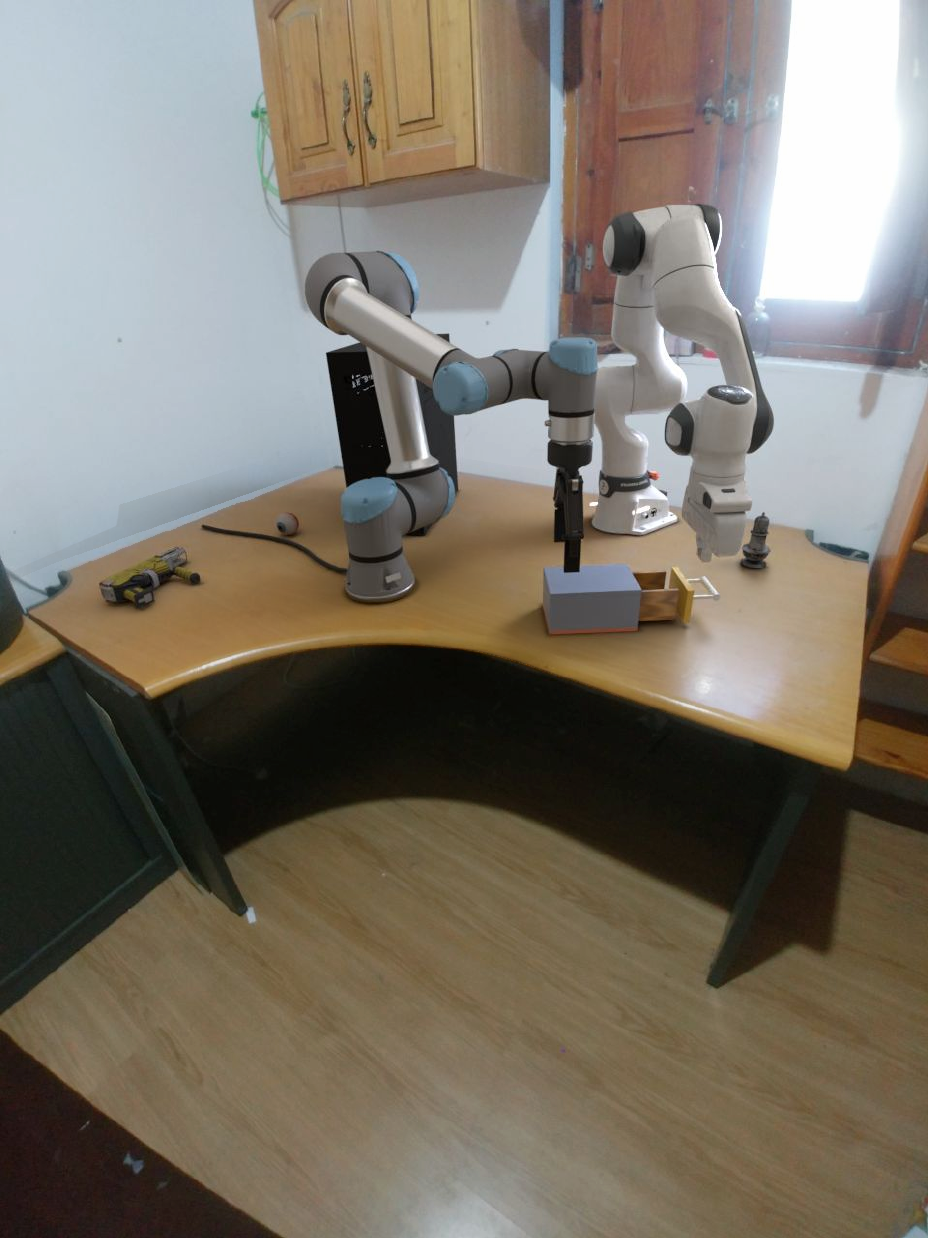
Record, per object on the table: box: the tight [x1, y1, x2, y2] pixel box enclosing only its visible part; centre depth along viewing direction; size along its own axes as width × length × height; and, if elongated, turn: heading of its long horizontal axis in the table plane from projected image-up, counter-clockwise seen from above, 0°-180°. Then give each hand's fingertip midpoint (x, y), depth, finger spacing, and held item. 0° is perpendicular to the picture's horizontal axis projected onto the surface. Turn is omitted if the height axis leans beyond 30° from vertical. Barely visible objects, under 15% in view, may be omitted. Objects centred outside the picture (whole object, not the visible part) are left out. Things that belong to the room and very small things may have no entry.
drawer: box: [631, 566, 721, 624], centre depth 116 cm, size 21×10×7 cm, turn 90°
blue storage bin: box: [542, 563, 642, 635], centre depth 116 cm, size 16×11×9 cm
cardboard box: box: [325, 333, 459, 536], centre depth 166 cm, size 38×20×45 cm, turn 167°
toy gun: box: [98, 546, 201, 609], centre depth 140 cm, size 5×24×15 cm
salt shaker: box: [739, 511, 772, 569], centre depth 132 cm, size 6×6×12 cm
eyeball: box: [275, 511, 300, 536], centre depth 163 cm, size 6×6×6 cm
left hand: (565, 555), depth 112 cm, fingers open, 13 cm apart
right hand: (703, 559), depth 112 cm, fingers closed
